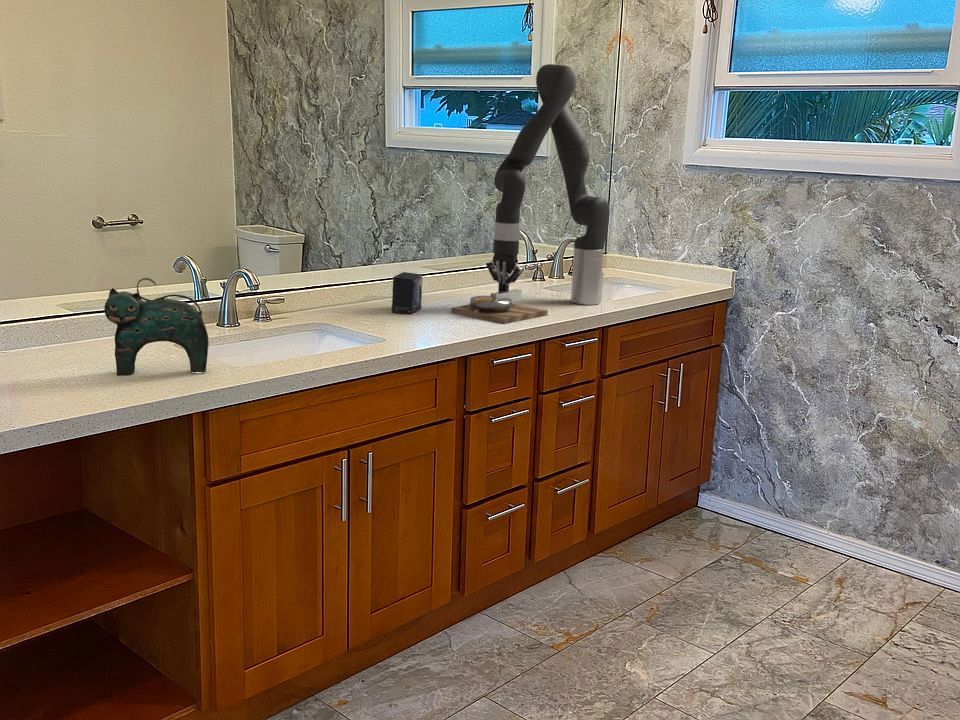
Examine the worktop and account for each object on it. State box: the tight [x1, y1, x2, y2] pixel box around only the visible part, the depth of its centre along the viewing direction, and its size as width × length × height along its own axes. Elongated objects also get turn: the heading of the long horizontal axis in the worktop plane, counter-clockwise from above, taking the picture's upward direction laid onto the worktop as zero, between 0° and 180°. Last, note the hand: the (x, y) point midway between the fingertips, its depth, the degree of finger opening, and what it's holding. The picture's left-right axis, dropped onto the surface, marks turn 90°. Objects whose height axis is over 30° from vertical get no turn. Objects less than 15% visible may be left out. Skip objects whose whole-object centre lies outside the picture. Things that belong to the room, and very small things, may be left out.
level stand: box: [450, 302, 549, 325], centre depth 277 cm, size 20×20×2 cm
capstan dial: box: [469, 288, 523, 310], centre depth 277 cm, size 20×12×4 cm, turn 140°
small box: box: [391, 271, 423, 315], centre depth 275 cm, size 11×6×10 cm, turn 168°
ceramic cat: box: [104, 277, 210, 376], centre depth 197 cm, size 20×6×20 cm, turn 103°
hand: (503, 296), depth 283 cm, fingers closed
